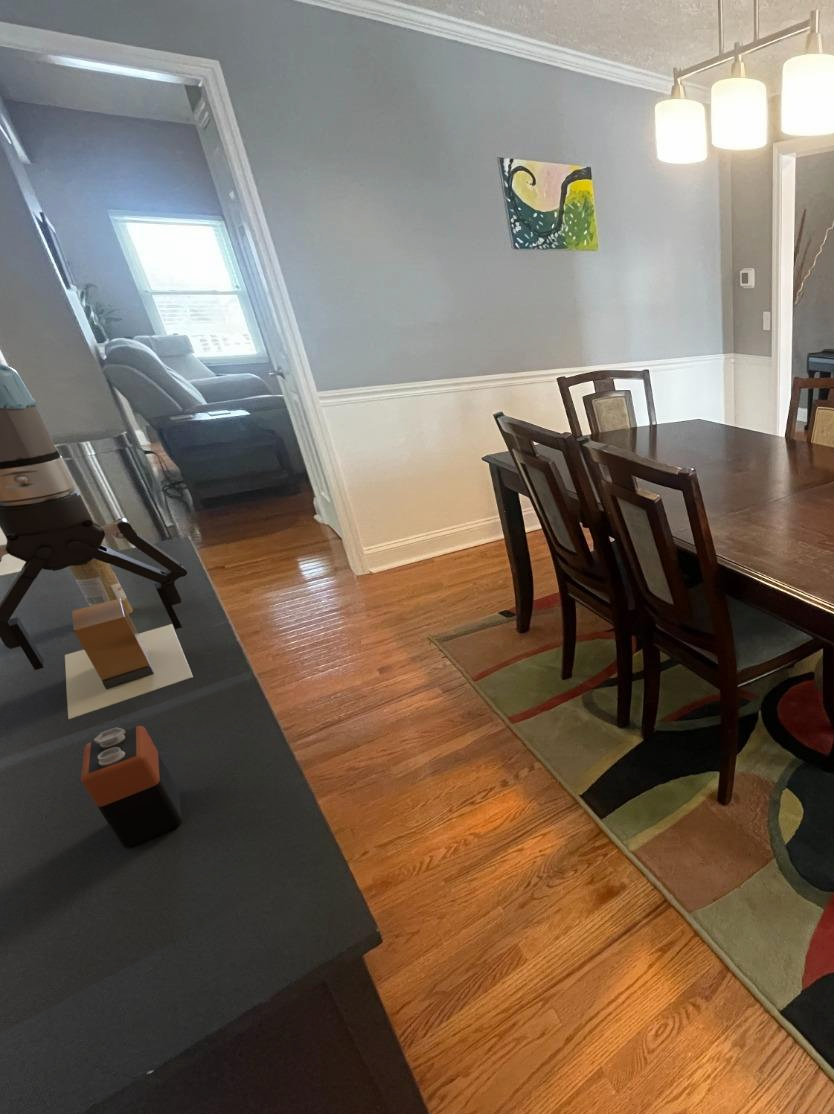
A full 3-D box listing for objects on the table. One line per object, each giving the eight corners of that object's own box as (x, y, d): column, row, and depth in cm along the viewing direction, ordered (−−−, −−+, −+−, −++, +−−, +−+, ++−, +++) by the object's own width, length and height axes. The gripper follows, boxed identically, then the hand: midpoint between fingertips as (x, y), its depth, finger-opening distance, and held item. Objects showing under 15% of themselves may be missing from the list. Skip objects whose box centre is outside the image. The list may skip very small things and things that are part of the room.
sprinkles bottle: (143, 614, 101) (107, 540, 95) (112, 627, 97) (73, 552, 91) (122, 612, 102) (84, 539, 96) (90, 625, 98) (50, 550, 92)
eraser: (102, 664, 85) (71, 609, 81) (147, 650, 88) (119, 597, 85) (106, 689, 80) (73, 631, 76) (154, 674, 83) (125, 617, 79)
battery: (180, 789, 64) (139, 715, 60) (183, 826, 60) (140, 748, 56) (124, 812, 62) (77, 736, 57) (124, 852, 57) (73, 772, 53)
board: (67, 660, 88) (64, 654, 88) (174, 629, 96) (171, 623, 96) (71, 725, 74) (68, 719, 74) (196, 682, 82) (193, 676, 82)
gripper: (-143, 531, 62) (-31, 696, 71) (172, 480, 79) (231, 619, 88) (-130, 516, 67) (-27, 672, 76) (165, 470, 84) (222, 603, 92)
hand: (112, 644), depth 82 cm, fingers open, 13 cm apart
